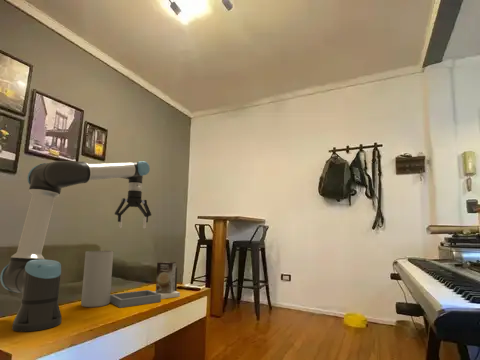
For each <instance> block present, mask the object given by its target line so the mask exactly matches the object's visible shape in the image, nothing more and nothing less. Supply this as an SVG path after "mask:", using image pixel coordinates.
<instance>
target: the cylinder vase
mask: <svg viewBox="0 0 480 360" xmlns="http://www.w3.org/2000/svg"><path fill="white" fill-rule="evenodd" d="M113 260H114V251H113V250H89V251H88V250H87V251H85V255H84V267H83V280H82V291H81V300H80V301H81V303H80V305H81V307H83V308H100V307H104V306H107V305H109V304H110V303H111V302H110V294H111V289H112V276H113V275H112V274H113V264H114V263H113V262H114V261H113Z"/></svg>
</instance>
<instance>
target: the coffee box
mask: <svg viewBox="0 0 480 360" xmlns="http://www.w3.org/2000/svg"><path fill="white" fill-rule="evenodd" d="M176 267H177V262H176V261H158V262H157V264H156V281H155V282H156V283H155V291H156V293H172V292H174V291H175V270H176Z"/></svg>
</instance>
